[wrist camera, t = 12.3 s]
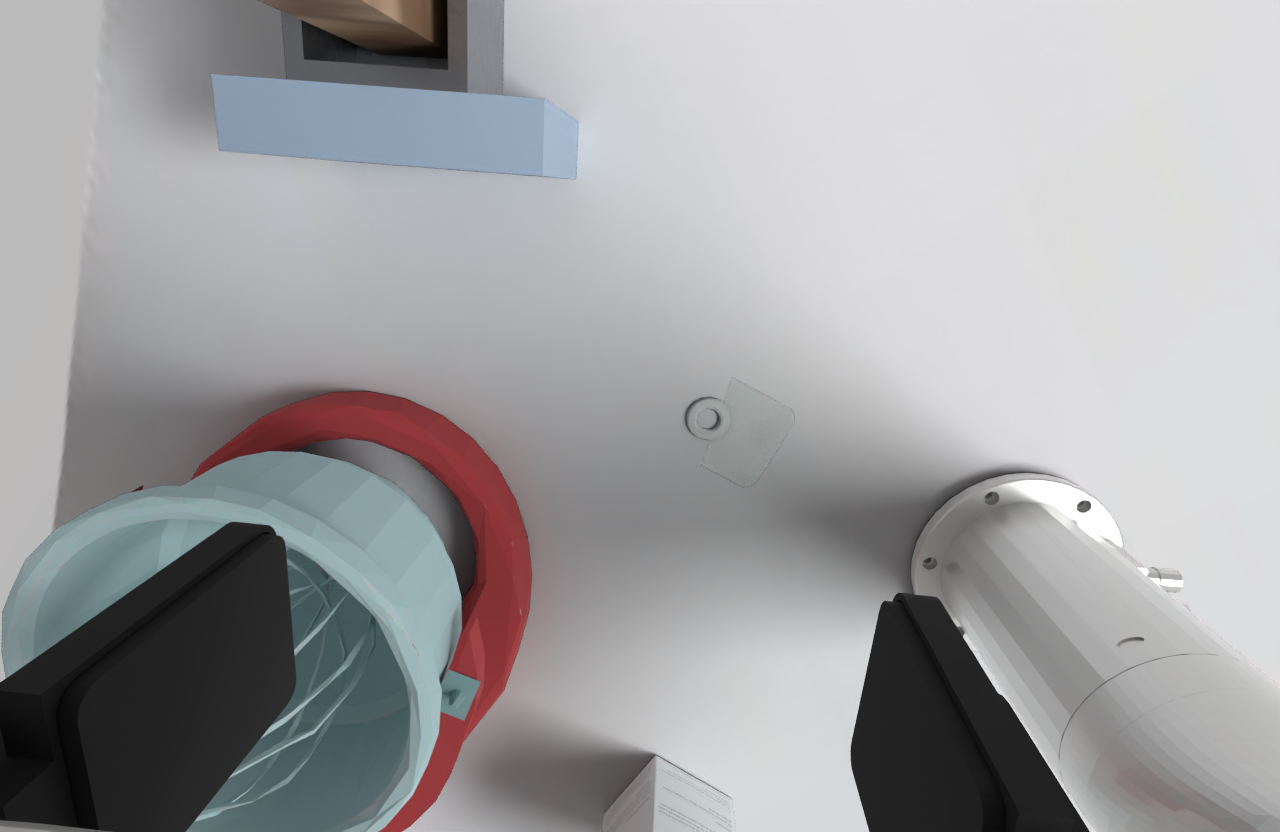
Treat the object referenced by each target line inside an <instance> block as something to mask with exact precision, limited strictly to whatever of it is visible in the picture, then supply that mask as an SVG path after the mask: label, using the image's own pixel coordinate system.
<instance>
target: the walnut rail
mask: <svg viewBox="0 0 1280 832" xmlns="http://www.w3.org/2000/svg"><path fill="white" fill-rule="evenodd" d="M258 1H261V2H263V3H265V4H267V5H269V6H272V7H274V8H276V9H278V10H281V11H283V12H285V13H287V14H289V15H292V16H294V17H296V18H298V19H301V20H303V21H305V22H307V23H309V24H312V25H314V26H316V27H318V28H321V29H323V30H325V31H327V32H329V33H332V34H334V35H336V36H338V37H341V38H343V39H345V40H347V41H350V42H352V43H354V44H356V45H358V46H361V47H363V48H365V49H367V50H370V51H372V52H374V53H376V54H378V55H393V56H408V57H423V58H438V59H448V8H447V0H258Z"/></svg>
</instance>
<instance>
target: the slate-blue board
mask: <svg viewBox="0 0 1280 832" xmlns="http://www.w3.org/2000/svg"><path fill="white" fill-rule="evenodd" d="M211 79H212V88H213V97H214V107H215V116H216V125H217V135H218V144H219V151H228V152H240V153H252V154H263V155H275V156H287V157H298V158H310V159H322V160H334V161H347V162H360V163H372V164H385V165H398V166H411V167H424V168H437V169H450V170H463V171H476V172H489V173H502V174H514V175H527V176H540V177H553V178H566V179H576V169H577V146H578V123H579V121H577V120H576V119H574V118H573V117H571V116H570V115H568V114H567V113H565V112H564V111H562V110H561V109H559V108H558V107H556V106H555V105H553V104H552V103H551V102H549V101H548V100H546V99H543V98H530V97H516V96H503V95H489V94H476V93H462V92H449V91H435V90H422V89H408V88H395V87H381V86H368V85H354V84H341V83H328V82H314V81H301V80H287V79H274V78H260V77H247V76H233V75H220V74H211Z"/></svg>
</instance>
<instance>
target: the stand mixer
mask: <svg viewBox="0 0 1280 832" xmlns="http://www.w3.org/2000/svg"><path fill="white" fill-rule="evenodd" d="M345 438H347V439H355V440H363V441H371V442H374V443H377V444H379V445H382V446H385V447H387V448H390V449H393V450H395V451H398V452H401V453H403V454H406V455H408V456H411V457H413V458H414V459H415V460H416V461H417V462H419V463H420V464H421V465H422V466H423V467H425V468H426V469H427V470H428V471H429V472H431V473H432V474H433V475H434V476H436V477H437V478H438V479H439V480H440V481H442V482H443V483H444V484H445V485H446V486H447V487H448V488H449V489H450V490H451V492H452V494H453V495H454V497H455V499H456V500H457V502H458V504H459V506H460V507H461V509H462V511H463V512H464V514H465V516H466V518H467V519H468V521H469V523H470V524H471V528H472V534H473V539H474V545H475V550H476V556H477V562H476V569H475V577H474V583H473V585H472V587H471V588H470V590H469V592H468V593H467V595H466V597H465V598H464V600H463V602H462V603H461V594H460V590H459V586H458V582H457V578H456V574H455V570H454V566H453V563H452V561H451V560H450V558H449V556H448V554H447V552H446V549H445V546H444V543H443V540H442V539H441V537H440V535H439V534H438V532H437V531H436V529H435V528H434V526H433V525H432V523H431V521H430V520H429V518H428V517H427V516H426V515H425V513H424V512H423V511H422V510H421V509H420V507H419V506H418V505H417V504H416V503H415V501H414V500H413V499H412V498H410V497H409V496H408V495H407V494H406V493H405V492H404V491H403V490H401V489H400V488H399V487H398V486H397V485H396V484H395V483H393V482H392V481H390V480H387V479H385V478H383V477H381V476H378V475H376V474H374V473H372V472H370V471H367V470H365V469H363V468H361V467H359V466H356V465H354V464H352V463H350V462H347V461H341V460H337V459H333V458H328V457H323V456H318V455H314V454H309V453H304V452H293V451H294V450H296V449H299V448H301V447H303V446H305V445H308V444H310V443H312V442H320V441H328V440H337V439H345ZM142 489H143V486H141V487H139V488H138V489H136V490H134V491H132V492H130V493H126V494H122V495H120V496H118V497H116V498H113V499H111V500H109V501H107V502H105V503H103V504H101V505H99V506H96V507H94V508H92V509H90V510H88V511H86V512H84V513H83V514H81V515H79V516H77V517H76V518H74V519H72V520H70V521H69V522H67V523H65V524H64V525H62V526H60V527H58V528H57V529H55V530H54V531H53V532H52V533H51V534H50V536H49V537H48V538H47V539H46V540H45V541H44V542H43V543H42V544H41V545H40V546H39V547H38V548H37V549H36V550H35V551H34V552H33V553H32V554H31V555H30V556H29V557H28V558H27V559H26V560H25V562H24V564H23V566H22V568H21V570H20V572H19V575H18V577H17V579H16V581H15V583H14V585H13V587H12V589H11V591H10V594H9V596H8V599H7V602H6V604H5V606H4V609H3V613H2V614H3V615H2V616H3V617H2V658H3V664H4V669H5V676H6V678H7V677H9V676H10V675H12V674H13V673H15V672H16V671H17V670H19V669H20V668H22V667H23V666H25V665H26V664H27V663H29V662H30V661H32V660H33V659H35V658H36V657H37V656H39V655H40V654H42V653H43V652H45V651H46V650H47V649H49V648H50V647H52V646H53V645H55V644H56V643H57V642H59V641H60V640H62V639H63V638H65V637H66V636H67V635H69V634H70V633H72V632H73V631H75V630H76V629H77V628H79V627H80V626H82V625H83V624H85V623H86V622H87V621H89V620H90V619H92V618H93V617H95V616H96V615H97V614H99V613H100V612H102V611H103V610H105V609H106V608H107V607H109V606H110V605H112V604H113V603H115V602H116V601H117V600H119V599H120V598H122V597H123V596H125V595H126V594H127V593H129V592H130V591H132V590H133V589H135V588H136V587H137V586H139V585H140V584H142V583H143V582H145V581H146V580H147V579H149V578H150V577H152V576H153V575H155V574H156V573H157V572H159V571H160V570H162V569H163V568H165V567H166V566H167V565H169V564H170V563H172V562H173V561H175V560H176V559H177V558H179V557H180V556H182V555H183V554H185V553H186V552H187V551H189V550H190V549H192V548H193V547H195V546H196V545H197V544H199V543H200V542H202V541H203V540H205V539H206V538H207V537H209V536H210V535H212V534H213V533H215V532H216V531H217V530H219V529H220V528H222V527H223V526H225V525H226V524H228V523H230V522H244V523H253V524H262V525H270V526H271V527H273V528H274V530H275V532H276V535H279V536H281V537H283V539H284V541H285V545H286V556H287V569H288V581H289V593H290V605H291V617H292V630H293V642H294V654H295V666H296V686H295V690H294V693H293V696H292V698H291V700H290V702H289V703H288V705H287V706H286V707H285V708H284V710H283V711H282V712H281V713H280V715H279V716H278V717H277V718H276V720H275V721H274V722H273V723H272V725H271V726H270V727H269V728H268V730H267V731H266V732H265V733H264V735H263V736H262V737H261V738H260V740H259V741H258V742H257V743H256V745H255V746H254V747H253V748H252V750H251V751H250V752H249V753H248V755H247V756H246V757H245V758H244V760H243V761H242V762H241V763H240V765H239V766H238V767H237V768H236V770H235V771H234V772H233V773H232V775H231V776H230V777H229V779H228V780H227V781H226V782H225V784H224V785H223V786H222V787H221V789H220V790H219V791H218V792H217V794H216V795H215V796H214V797H213V799H212V800H211V801H210V802H209V804H208V805H207V806H206V807H205V809H204V810H203V811H202V812H201V814H200V815H199V816H198V817H197V819H196V820H195V821H194V822H193V824H192V825H191V826H190V827H189V829H188V830H187V831H186V832H402V831H403V830H405V829H407V828H408V827H410V826H411V825H412V824H413V823H414V822H415V821H416V820H417V819H418V818H419V817H420V816H421V815H422V814H423V813H424V812H425V811H426V810H427V809H428V808H429V807H430V806H431V805H432V804H433V803H434V802H435V801H436V800H437V798H438V796H439V794H440V792H441V791H442V789H443V787H444V785H445V783H446V782H447V780H448V778H449V776H450V774H451V772H452V769H453V767H454V764H455V762H456V759H457V757H458V754H459V752H460V749H461V746H462V744H463V742H464V740H465V739H466V738H467V737H468V735H469V734H470V733H471V732H472V730H473V729H474V728H475V726H476V725H477V724H478V723H479V721H480V720H481V719H482V718H483V716H484V715H485V714H486V713H487V711H488V710H489V709H490V708H491V706H492V705H493V704H494V702H495V701H496V700H497V699H498V697H499V696H500V695H501V694H502V692H503V691H504V689H505V687H506V684H507V681H508V678H509V675H510V672H511V669H512V667H513V664H514V661H515V658H516V655H517V652H518V649H519V647H520V643H521V640H522V636H523V632H524V629H525V625H526V621H527V617H528V614H529V608H530V595H531V581H532V570H531V561H530V552H529V544H528V536H527V533H526V530H525V527H524V524H523V521H522V518H521V514H520V511H519V508H518V505H517V502H516V500H515V498H514V496H513V494H512V493H511V491H510V489H509V487H508V485H507V483H506V482H505V480H504V478H503V476H502V474H501V473H500V471H499V469H498V467H497V466H496V465H495V464H494V463H493V462H492V460H491V459H490V458H489V457H488V456H487V455H486V453H485V452H484V451H483V450H482V449H481V448H480V446H479V445H478V444H477V443H476V442H475V441H474V439H473V438H471V437H470V436H469V435H467V434H466V433H465V432H463V431H462V430H461V429H459V428H458V427H457V426H456V425H454V424H453V423H452V422H450V421H449V420H448V419H446V418H445V417H444V416H442V415H440V414H438V413H436V412H434V411H431V410H429V409H427V408H425V407H423V406H420V405H418V404H416V403H414V402H412V401H410V400H407V399H405V398H400V397H394V396H389V395H384V394H379V393H374V392H369V391H363V392H332V393H328V394H325V395H321V396H317V397H313V398H310V399H306V400H302V401H298V402H295V403H292V404H290V405H288V406H285V407H283V408H281V409H279V410H276V411H274V412H272V413H269V414H267V415H265V416H262V417H261V418H260V419H258V420H257V421H256V422H254V423H253V424H252V425H251V426H249V427H248V428H247V429H245V430H244V431H243V432H241V433H240V434H239V435H238V436H236V437H235V438H234V439H232V440H231V441H230V442H228V443H227V444H226V445H224V446H223V447H222V448H221V449H219V450H218V451H217V452H215V453H214V454H213V455H211V456H210V457H209V458H207V459H206V460H205V461H204V462H203V463H201V464H200V466H199V468H198V469H197V471H196V473H195V474H194V476H193V478H192V479H191V481H189V482H187V483H186V484H184V485H162V486H157V487H153V488H149V489H144V490H142Z"/></svg>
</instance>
